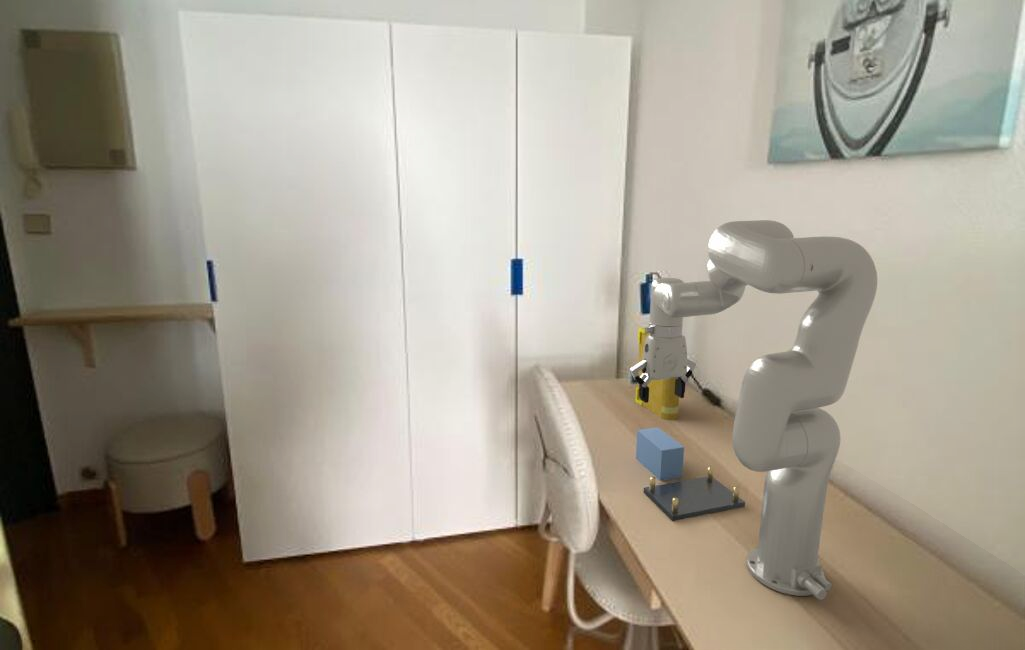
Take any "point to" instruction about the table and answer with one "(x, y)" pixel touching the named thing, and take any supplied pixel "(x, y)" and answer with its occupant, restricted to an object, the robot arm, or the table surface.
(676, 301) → the robot arm
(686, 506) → the dowel plate
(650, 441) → the blue block
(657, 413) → the book
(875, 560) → the table surface
